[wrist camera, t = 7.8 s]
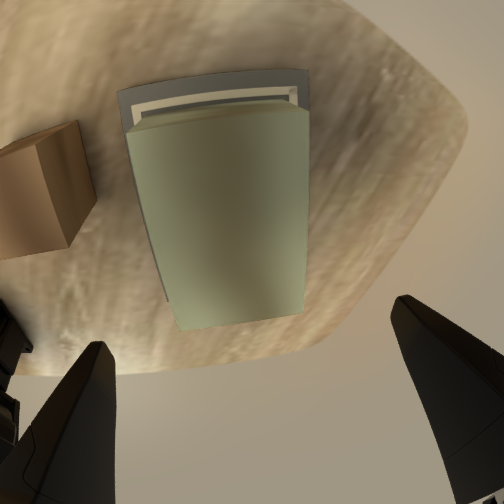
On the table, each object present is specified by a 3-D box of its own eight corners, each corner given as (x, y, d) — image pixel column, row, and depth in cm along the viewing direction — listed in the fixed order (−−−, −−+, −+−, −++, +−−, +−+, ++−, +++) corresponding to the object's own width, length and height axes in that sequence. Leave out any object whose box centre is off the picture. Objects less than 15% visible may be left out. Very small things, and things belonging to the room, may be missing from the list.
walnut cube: (32, 215, 16) (-4, 261, 12) (10, 143, 13) (-38, 175, 9) (97, 200, 16) (68, 247, 12) (77, 119, 14) (34, 144, 9)
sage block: (180, 281, 19) (179, 331, 15) (145, 115, 13) (125, 133, 10) (285, 267, 19) (303, 312, 16) (282, 98, 13) (309, 111, 10)
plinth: (168, 287, 21) (167, 303, 19) (124, 89, 13) (116, 91, 12) (299, 268, 21) (305, 283, 20) (298, 69, 14) (308, 69, 13)
